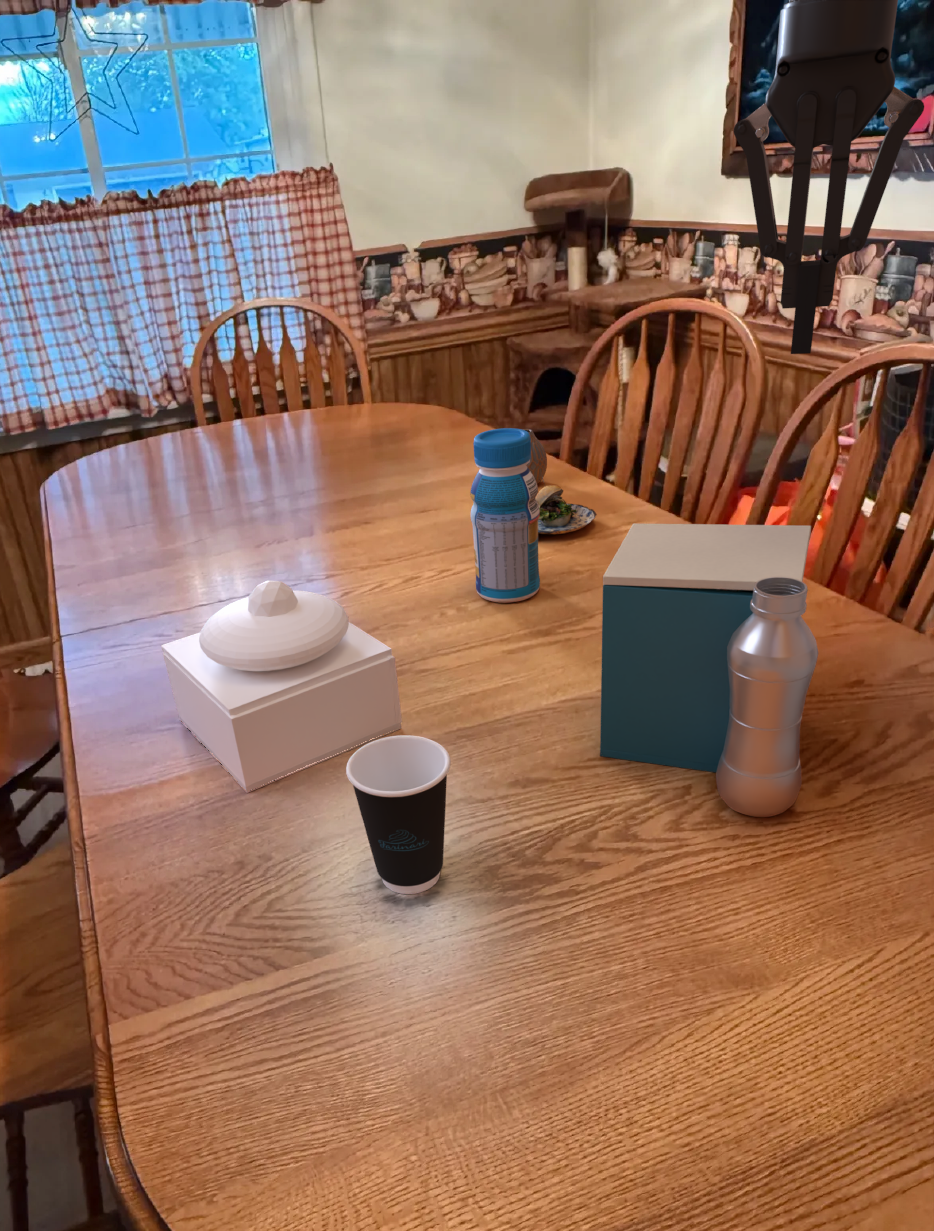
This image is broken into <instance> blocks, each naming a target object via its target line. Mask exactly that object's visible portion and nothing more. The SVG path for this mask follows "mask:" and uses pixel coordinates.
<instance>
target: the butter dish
mask: <svg viewBox="0 0 934 1231" xmlns="http://www.w3.org/2000/svg"><path fill="white" fill-rule="evenodd" d="M160 647H161V652H162V657H163V661H164V665H165V668H166V673H167V676H168V680H169V684H170V689H171V692H172V697H173V700H174V704H175V709H176V713H177V716H178V720H179V718H180V719H181V720H182V722H184V723H185V725H186V726H187V727H188V728H189V729H190V730H191V731H192V732H193V734H195V736H196V737H197V738H198V739H199V740H200V741H201V742H202V743H203V744H204V745H205V747H206V748H207V749H209V751H210V752H211V753H213V755H214V756H215V757H216V758H217V759H218V760H219V761H220V762H221V764H222V765H223V766H224V767H225V768H226V769H227V770H228V771H227V770H226V769H225V768H224V767H223V766H222V765H221V764H220V763H219V762H218V764H219V765H220V766H221V767H222V768H223V769H224V771H226V772H227V773H228V772H229V773H230V774H231V775H232V776H233V777H234V778H235V779H236V780H237V781H238V782H237V781H236V780H235V779H234V778H233V777H232V776H231V775H230V774H229V773H228V774H229V775H230V776H231V777H232V779H233V780H234V781H235V782H236V784H238V785H239V786H240V787H241V788H242V787H243V788H244V789H245V790H246V791H245V790H244V789H243V788H242V789H243V790H244V791H245V793H246V794H248V793H251V792H253V791H255V790H257V789H260V788H262V787H265V786H267V785H270V784H272V783H275V782H277V781H279V780H282V779H284V778H286V777H288V776H292V775H293V774H296V773H298V772H301V771H303V770H306V769H309V768H310V767H313V766H315V765H317V764H320V763H322V762H325V761H327V760H329V759H332V758H334V757H337V756H339V755H342V754H344V753H346V752H349V751H351V750H353V749H355V748H358V747H360V746H361V747H362V746H364V745H366V744H368V743H370V742H373V741H375V740H378V739H381V738H383V737H384V736H386V735H389V734H391V733H394V732H396V731H398V730H401V729H402V723H403V716H402V709H401V699H400V690H399V682H398V672H397V671H398V670H397V664H396V657H395V656H394V655H393V649H392V648H391V647H390V646H388V645H386V644H385V643H383V642H382V641H380V640H379V639H377V638H376V637H374V636H372V635H370V634H369V633H368V632H366V631H364V630H363V629H361V627H359V626H357V625H355V624H353V623H352V622H351V621H350V618H349V615H348V613H347V611H346V609H345V607H344V606H343V605H341V604H340V603H339V602H338V601H336V600H335V599H333V598H331V597H329V596H327V595H324V594H320V593H316V592H313V591H308V590H307V591H306V590H296V589H295V590H293V589H292V587H290V586H289V585H287V584H286V583H285V582H283V581H281V580H268V579H267V580H265V581H263V582H262V583H259V584H257V585H256V586H255V587H254V588H253V589H252V591H251V592H250V594H249V595H248V596H247V597H243V598H241V599H238V600H236V601H233V602H231V603H230V604H228V605H226V606H223V608H221V609H220V610H218V611H216V612H215V613H214V614H212V615H211V616H210V617H209V619H207V621H206V622H205V623H204V625H203V626H202V628H201V630H200V631H199V632H197V633H194V634H191V635H187V636H184V637H181V638H179V639H176V640H172V641H170V642H167V643H164V644H161V645H160ZM179 722H180V723H181V724H182V725H183V726H184V727H185V728H186V729H187V727H186V726H185V725H184V724H183V723H182V722H181V721H180V720H179ZM393 730H394V731H393ZM390 731H391V732H390ZM388 732H389V733H388ZM386 733H387V734H386ZM193 734H192V733H191V735H192V736H193V737H194V738H195V739H196V740H197V741H198V742H199V743H200V744H201V742H200V741H199V740H198V739H197V738H196V737H195V736H194V735H193ZM383 734H384V735H383ZM380 735H382V736H380ZM378 736H379V737H378ZM376 737H377V738H376ZM372 738H375V739H372ZM370 739H372V740H370ZM369 740H370V741H369ZM365 741H367V742H365ZM363 742H365V743H363ZM361 743H363V744H361ZM359 744H360V745H359ZM356 745H358V746H356ZM354 746H356V747H354ZM205 747H204V748H205ZM351 747H353V748H351ZM206 748H205V750H206V751H207V752H208V753H209V754H210V756H212V757H213V759H215V757H214V756H213V755H212V754H211V753H210V752H209V751H208V750H207V749H206ZM350 748H351V749H350ZM347 749H348V750H347ZM344 750H346V751H344ZM342 751H344V752H342ZM340 752H341V753H340ZM337 753H339V754H337ZM335 754H337V755H335ZM333 755H334V756H333ZM330 756H332V757H330ZM327 757H329V758H327ZM325 758H327V759H325ZM322 759H325V760H322ZM320 760H322V761H320ZM317 761H320V762H318V763H315V764H313V765H310V766H308V767H306V768H303V767H305V766H306V765H309V764H312V763H314V762H317ZM300 768H303V769H301V770H298V771H296V770H297V769H300ZM294 771H296V772H294ZM291 772H294V773H291ZM288 773H291V774H289V775H287V774H288ZM285 775H287V776H285ZM281 776H284V777H282V778H279V777H281ZM277 778H279V779H277ZM275 779H277V780H275ZM272 780H275V781H272ZM270 781H272V782H270ZM268 782H270V783H268ZM267 783H268V784H267ZM263 784H265V785H263ZM261 785H263V786H261ZM257 787H258V788H257ZM254 788H256V789H254ZM251 789H253V790H251ZM250 790H251V791H250Z"/></svg>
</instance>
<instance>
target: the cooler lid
mask: <svg viewBox="0 0 934 1231" xmlns="http://www.w3.org/2000/svg"><path fill="white" fill-rule="evenodd" d="M811 534H812V525H804V524H803V525H800V524H799V525H795V524H793V525H792V524H791V525H789V524H715V523H712V524H711V523H710V524H709V523H708V524H707V523H705V524H704V523H636V522H635V523H632V525H631V527H630V528H629V530H628V532H627V534H626V535H625V537H624V539H623V540H622V542H621V544H620V546H619V547H618V549H617V551H616V553H615V554H614V557H613V558H612V559H611V562H610V563H609V565H608V567H607V569H606V570H605V572H604V574H603V576H602V584H603V585H626V586H652V587H679V588H705V589H731V590H754V586H755V583H756V582H757V581H759V580H762V579H765V578H770V577H787V578H793V579H797V580H800V581H802V582H804V575H805V569H806V564H807V557H808V552H809V545H810V540H811Z"/></svg>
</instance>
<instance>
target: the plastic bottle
mask: <svg viewBox="0 0 934 1231" xmlns="http://www.w3.org/2000/svg"><path fill="white" fill-rule="evenodd" d="M807 597H808V585H807V584H806V582H804V581H803V582H802V581H800V580H797V579H793V578H787V577H770V578H765V579H762V580H759V581H757V582H756V583H755V586H754V590H753V598H752V600H751V602H750V609H751V611H752V612H753V614H752V615H750V616H749V617H748V618H747V619H746V620H745V621H744V622H743V623H742V624H741V625H740V626H739V627H738V628H737V629H736V631H735V632H734V633H733V634H732V637H731V639H730V641H729V644H728V646H727V661H728V674H729V685H730V709H729V723H728V728H727V734H726V739H725V744H724V749H723V752H722V755H721V757H720V760H719V764H718V768H717V772H715V781H716V788H717V794H718V795H719V797H720V798H721V799H722V801H723V803H725V805H726V806H728V807H729V808H730V809H731V810H732V811H734V812H737V813H739V814H742V815H745V816H750V817H756V818H768V817H774V816H778V815H781V814H782V813H785V812H786V811H787V810H788V809H790V808H791V807H792V806H793V805H795V802H796V801H797V798H798V796H799V793H800V790H801V788H802V783H803V782H802V766H801V758H800V751H801V750H800V749H801V748H800V746H801V745H800V744H801V724H802V720H803V714H804V709H805V705H806V698H807V694H808V691H809V689H810V685H811V681H812V678H813V675H814V672H815V669H816V665H817V662H818V657H819V648H818V643H817V639H816V637H815V635H814V633H813V632H812V630H811V628H810V626H809V625H808V624H807V622H806V621H805V620H804V618H803V617H802V615H804V614H805V613H806V612H807V606H808V604H807Z"/></svg>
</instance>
